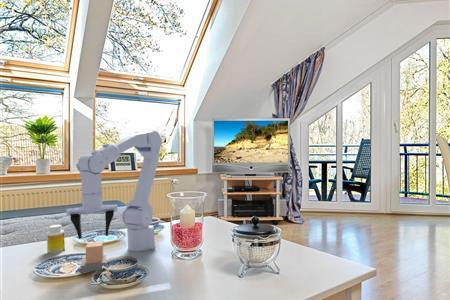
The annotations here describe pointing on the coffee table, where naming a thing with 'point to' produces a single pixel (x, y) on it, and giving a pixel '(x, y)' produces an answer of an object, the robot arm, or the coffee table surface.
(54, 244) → the supplement bottle
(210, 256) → the coffee table surface
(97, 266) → the gray slab
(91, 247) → the terracotta block
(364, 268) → the coffee table surface
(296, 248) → the coffee table surface
